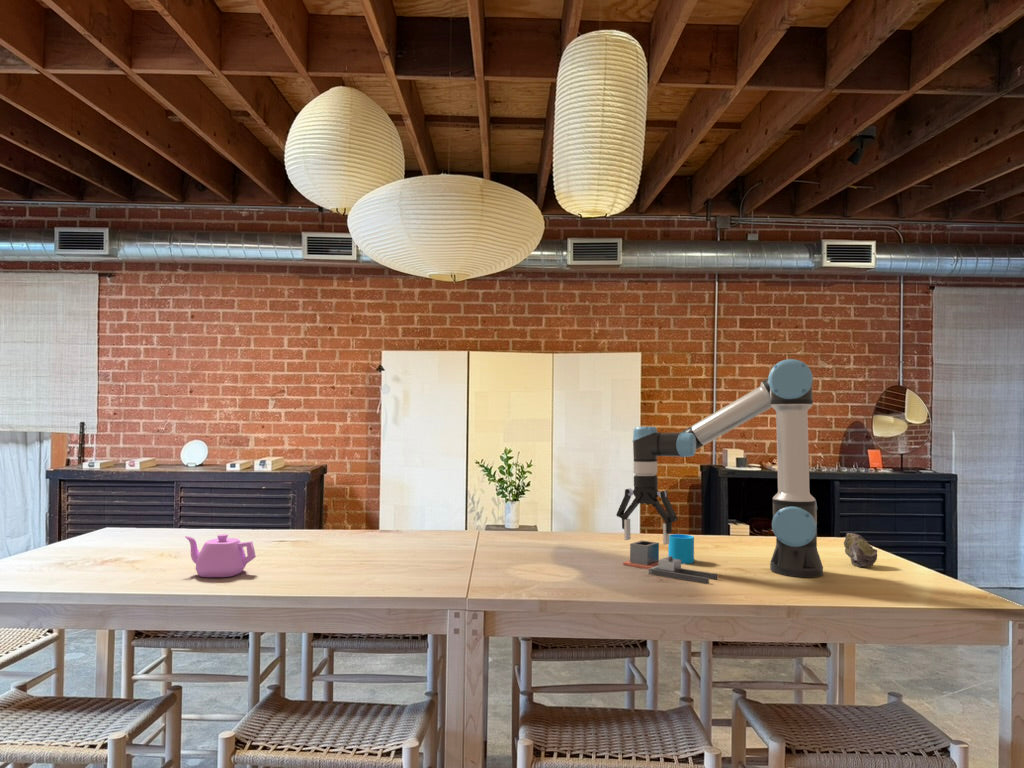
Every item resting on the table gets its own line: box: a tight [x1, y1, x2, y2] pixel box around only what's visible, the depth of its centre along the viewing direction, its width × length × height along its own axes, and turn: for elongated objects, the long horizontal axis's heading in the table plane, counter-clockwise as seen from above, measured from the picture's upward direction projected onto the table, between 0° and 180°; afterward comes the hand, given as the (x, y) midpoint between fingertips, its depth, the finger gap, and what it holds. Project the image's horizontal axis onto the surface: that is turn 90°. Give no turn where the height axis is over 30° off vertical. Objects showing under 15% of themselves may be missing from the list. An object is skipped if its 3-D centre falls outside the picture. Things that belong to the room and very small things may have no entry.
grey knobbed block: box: [658, 555, 682, 573], centre depth 205 cm, size 5×5×5 cm
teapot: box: [184, 533, 257, 578], centre depth 195 cm, size 13×20×11 cm
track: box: [648, 566, 718, 585], centre depth 202 cm, size 18×8×2 cm, turn 52°
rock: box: [843, 532, 878, 568], centre depth 222 cm, size 11×10×10 cm
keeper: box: [622, 559, 658, 570], centre depth 218 cm, size 10×10×6 cm
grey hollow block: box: [629, 540, 660, 566], centre depth 218 cm, size 6×8×6 cm
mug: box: [667, 533, 695, 565], centre depth 226 cm, size 12×8×8 cm
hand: (646, 541), depth 218 cm, fingers open, 13 cm apart
